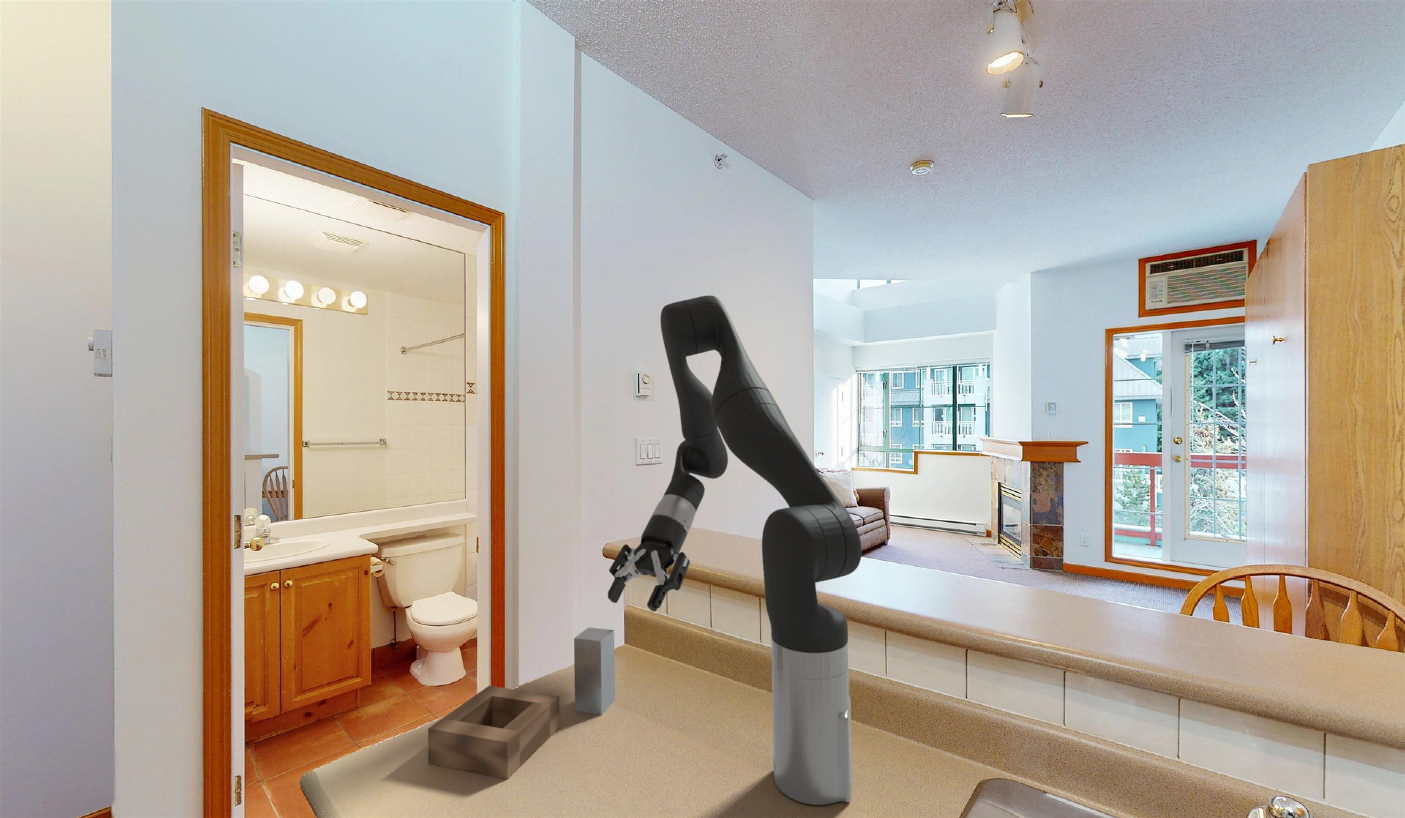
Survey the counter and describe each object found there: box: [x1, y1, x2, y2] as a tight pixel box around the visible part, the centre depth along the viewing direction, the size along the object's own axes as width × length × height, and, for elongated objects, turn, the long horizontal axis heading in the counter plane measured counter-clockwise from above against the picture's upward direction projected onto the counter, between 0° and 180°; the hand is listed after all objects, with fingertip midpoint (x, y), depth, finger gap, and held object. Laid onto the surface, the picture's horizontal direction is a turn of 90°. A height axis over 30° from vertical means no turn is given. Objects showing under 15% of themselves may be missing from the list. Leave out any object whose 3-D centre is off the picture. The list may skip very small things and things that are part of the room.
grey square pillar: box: [573, 627, 616, 716], centre depth 87 cm, size 4×4×11 cm
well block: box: [427, 685, 561, 780], centre depth 77 cm, size 12×12×4 cm
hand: (630, 604), depth 94 cm, fingers open, 8 cm apart
